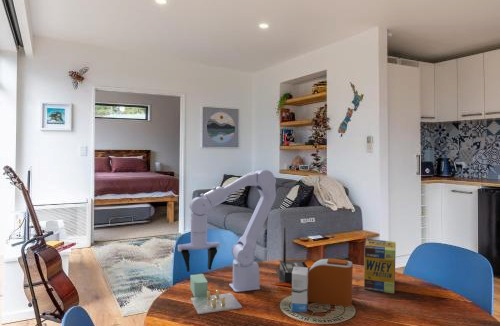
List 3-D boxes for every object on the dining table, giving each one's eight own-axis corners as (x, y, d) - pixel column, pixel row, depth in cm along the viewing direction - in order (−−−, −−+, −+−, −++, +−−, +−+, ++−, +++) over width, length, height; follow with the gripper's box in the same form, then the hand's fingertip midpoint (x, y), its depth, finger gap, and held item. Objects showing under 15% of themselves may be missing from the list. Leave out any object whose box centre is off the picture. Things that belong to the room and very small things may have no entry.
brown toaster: (352, 298, 126) (353, 258, 126) (350, 307, 118) (351, 265, 118) (309, 292, 131) (309, 254, 131) (304, 301, 123) (305, 261, 123)
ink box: (307, 313, 114) (307, 275, 114) (291, 311, 115) (291, 273, 115) (308, 302, 122) (308, 266, 122) (293, 300, 123) (293, 265, 123)
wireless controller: (316, 282, 141) (316, 237, 141) (280, 282, 141) (280, 238, 140) (306, 266, 161) (306, 227, 161) (274, 266, 161) (274, 227, 160)
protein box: (363, 289, 134) (364, 247, 134) (367, 277, 148) (367, 238, 148) (394, 294, 130) (395, 250, 130) (395, 280, 144) (395, 241, 144)
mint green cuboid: (202, 287, 136) (202, 273, 135) (207, 296, 127) (207, 282, 127) (190, 288, 134) (190, 275, 134) (194, 297, 126) (194, 283, 125)
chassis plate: (230, 294, 128) (230, 292, 128) (241, 308, 117) (241, 306, 117) (190, 299, 124) (190, 297, 124) (198, 314, 112) (198, 312, 112)
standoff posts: (218, 296, 125) (218, 289, 125) (225, 305, 117) (225, 298, 117) (206, 298, 123) (206, 291, 123) (212, 307, 116) (212, 300, 116)
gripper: (216, 228, 136) (215, 264, 137) (176, 230, 131) (176, 268, 132) (221, 231, 130) (220, 270, 130) (179, 234, 125) (179, 274, 125)
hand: (198, 269), depth 130 cm, fingers open, 7 cm apart
